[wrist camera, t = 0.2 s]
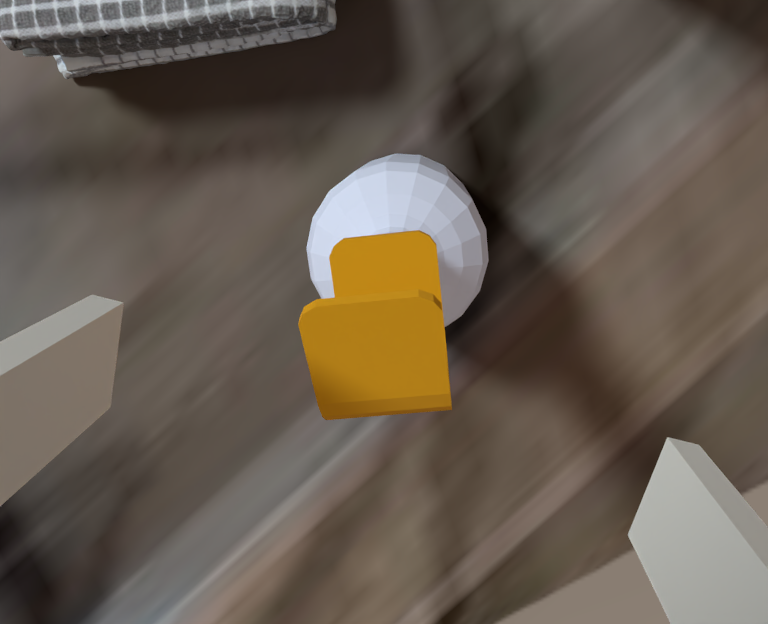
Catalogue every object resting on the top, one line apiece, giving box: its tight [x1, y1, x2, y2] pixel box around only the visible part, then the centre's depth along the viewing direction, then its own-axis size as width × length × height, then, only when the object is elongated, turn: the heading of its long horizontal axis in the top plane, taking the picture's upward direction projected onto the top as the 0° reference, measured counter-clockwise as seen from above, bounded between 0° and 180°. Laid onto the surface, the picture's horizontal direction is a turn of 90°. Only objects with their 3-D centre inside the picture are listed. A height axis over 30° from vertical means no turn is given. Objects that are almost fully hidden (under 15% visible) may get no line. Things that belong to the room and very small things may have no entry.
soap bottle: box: [298, 154, 489, 420], centre depth 30 cm, size 9×9×25 cm
